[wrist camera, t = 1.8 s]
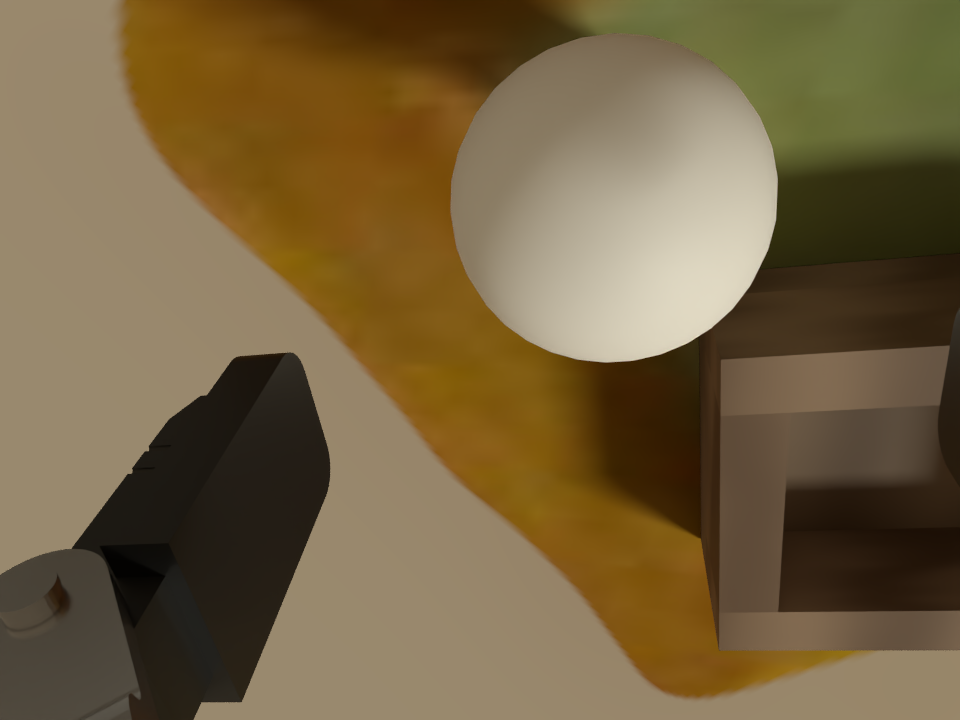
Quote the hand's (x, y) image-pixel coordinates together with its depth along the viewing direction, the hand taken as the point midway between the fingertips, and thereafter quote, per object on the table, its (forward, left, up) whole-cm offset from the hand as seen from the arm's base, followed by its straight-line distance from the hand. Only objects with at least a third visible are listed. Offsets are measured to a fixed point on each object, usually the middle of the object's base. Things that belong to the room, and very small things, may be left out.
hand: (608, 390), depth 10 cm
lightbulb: (0, 0, -15) cm, 15 cm away
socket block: (-8, +11, -14) cm, 20 cm away
